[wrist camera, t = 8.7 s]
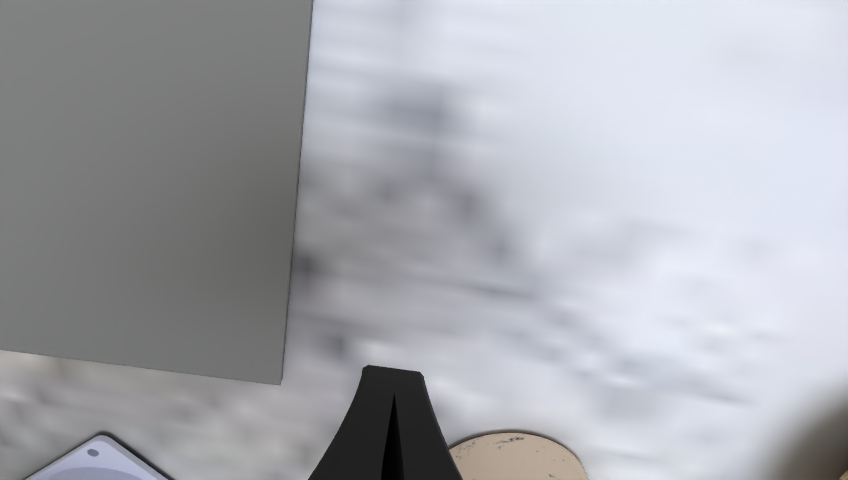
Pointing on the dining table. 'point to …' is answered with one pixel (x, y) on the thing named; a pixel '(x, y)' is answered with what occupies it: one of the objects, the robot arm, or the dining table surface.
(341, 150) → the dining table surface
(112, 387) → the dining table surface
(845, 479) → the cantaloupe
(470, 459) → the teacup with lid
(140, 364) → the mat
